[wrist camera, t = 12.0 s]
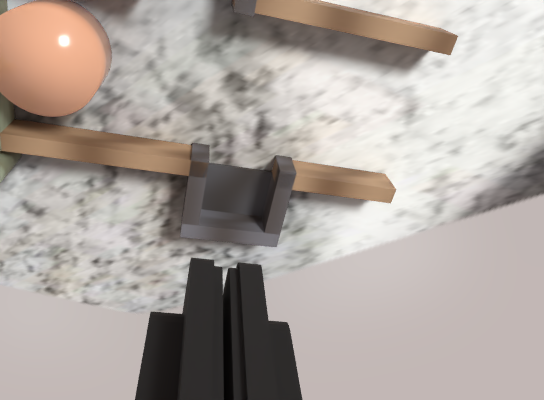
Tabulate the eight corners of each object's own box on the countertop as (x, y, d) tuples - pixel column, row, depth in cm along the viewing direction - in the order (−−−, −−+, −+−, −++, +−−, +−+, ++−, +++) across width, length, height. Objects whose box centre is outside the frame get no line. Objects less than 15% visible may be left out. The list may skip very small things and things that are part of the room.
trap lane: (473, -59, 28) (532, -56, 23) (360, 239, 39) (383, 286, 34) (-40, -202, 22) (-116, -240, 17) (-3, 197, 33) (-41, 246, 28)
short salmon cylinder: (114, 9, 28) (101, 20, 24) (109, 102, 31) (97, 124, 27) (7, -14, 26) (-23, -5, 23) (12, 85, 29) (-14, 106, 26)
